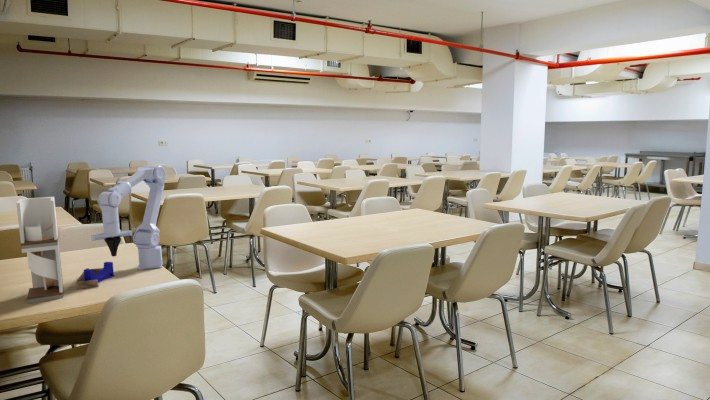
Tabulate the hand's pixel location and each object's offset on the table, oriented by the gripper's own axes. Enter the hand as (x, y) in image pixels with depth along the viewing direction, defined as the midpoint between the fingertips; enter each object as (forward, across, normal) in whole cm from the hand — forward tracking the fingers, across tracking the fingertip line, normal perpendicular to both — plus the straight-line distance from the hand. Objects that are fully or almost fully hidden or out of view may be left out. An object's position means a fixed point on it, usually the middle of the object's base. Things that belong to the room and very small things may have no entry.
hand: (113, 255), depth 198 cm
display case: (+10, +25, +5) cm, 27 cm away
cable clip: (+10, +6, -3) cm, 12 cm away
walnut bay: (+9, +7, -3) cm, 12 cm away
